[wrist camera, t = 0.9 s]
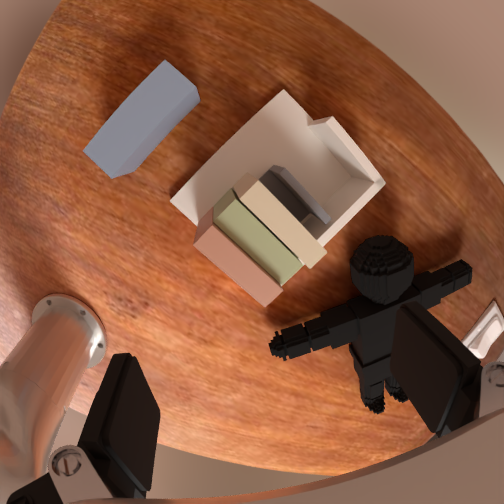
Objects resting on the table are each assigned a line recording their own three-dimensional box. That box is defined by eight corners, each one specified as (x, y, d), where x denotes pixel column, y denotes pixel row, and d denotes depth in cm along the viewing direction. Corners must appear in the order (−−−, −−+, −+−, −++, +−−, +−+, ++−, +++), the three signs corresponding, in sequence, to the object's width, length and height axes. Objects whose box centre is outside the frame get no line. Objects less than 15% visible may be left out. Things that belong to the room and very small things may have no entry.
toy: (302, 442, 44) (252, 303, 31) (292, 408, 51) (244, 269, 38) (466, 367, 44) (490, 215, 32) (445, 344, 51) (455, 199, 39)
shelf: (255, 276, 39) (269, 319, 29) (170, 199, 35) (153, 219, 25) (358, 176, 37) (403, 188, 27) (281, 90, 32) (307, 69, 22)
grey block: (200, 101, 32) (196, 86, 24) (134, 171, 34) (111, 178, 26) (176, 79, 31) (165, 59, 23) (111, 149, 32) (82, 150, 24)
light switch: (460, 357, 47) (503, 308, 44) (450, 345, 51) (491, 298, 48) (475, 374, 50) (514, 330, 47) (466, 363, 54) (503, 321, 51)
